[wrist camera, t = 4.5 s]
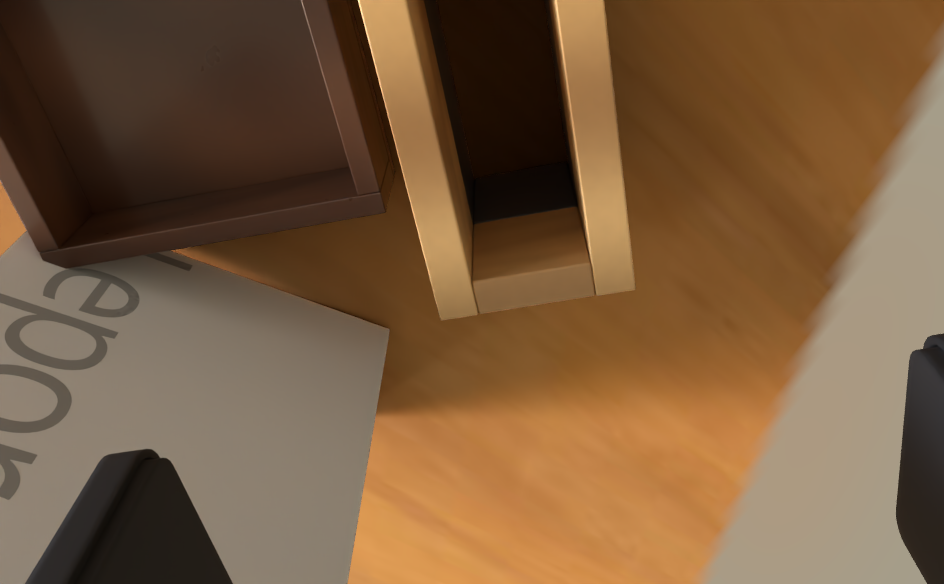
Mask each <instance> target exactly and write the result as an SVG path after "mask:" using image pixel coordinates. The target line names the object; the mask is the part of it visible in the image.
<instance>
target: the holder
mask: <svg viewBox="0 0 944 584" xmlns="http://www.w3.org/2000/svg"><path fill="white" fill-rule="evenodd" d="M394 175H395V169H394V165H393V161H392V158H391V154H390V150H389V146H388V142H387V139H386V135H385V131H384V127H383V123H382V120H381V116H380V112H379V108H378V104H377V101H376V97H375V93H374V89H373V85H372V82H371V78H370V74H369V70H368V66H367V63H366V59H365V55H364V51H363V47H362V44H361V40H360V36H359V32H358V28H357V25H356V21H355V17H354V13H353V9H352V6H351V2H350V0H0V181H1V183H2V185H3V187H4V189H5V191H6V192H7V194H8V196H9V198H10V200H11V202H12V204H13V206H14V207H15V209H16V211H17V213H18V215H19V217H20V219H21V221H22V222H23V224H24V226H25V228H26V230H27V232H28V234H29V236H30V237H31V239H32V241H33V243H34V245H35V247H36V249H37V251H38V252H40V253H39V254H40V256H41V258H42V260H43V261H45V262H48V263H51V264H54V265H56V266H59V267H62V268H65V269H68V268H74V267H79V266H85V265H91V264H96V263H102V262H108V261H113V260H119V259H125V258H130V257H136V256H142V255H147V254H153V253H159V252H164V251H170V250H176V249H181V248H187V247H193V246H198V245H204V244H210V243H216V242H221V241H227V240H233V239H238V238H244V237H250V236H255V235H261V234H267V233H272V232H278V231H284V230H289V229H295V228H301V227H306V226H312V225H318V224H323V223H329V222H335V221H340V220H346V219H352V218H358V217H363V216H369V215H375V214H380V213H385V212H386V209H387V205H388V200H389V196H390V192H391V188H392V184H393V180H394Z"/></svg>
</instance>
